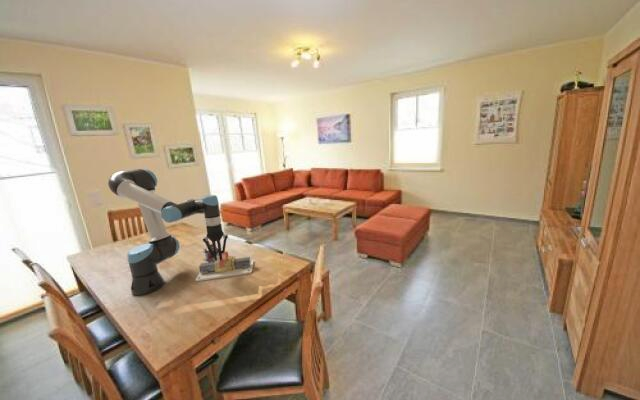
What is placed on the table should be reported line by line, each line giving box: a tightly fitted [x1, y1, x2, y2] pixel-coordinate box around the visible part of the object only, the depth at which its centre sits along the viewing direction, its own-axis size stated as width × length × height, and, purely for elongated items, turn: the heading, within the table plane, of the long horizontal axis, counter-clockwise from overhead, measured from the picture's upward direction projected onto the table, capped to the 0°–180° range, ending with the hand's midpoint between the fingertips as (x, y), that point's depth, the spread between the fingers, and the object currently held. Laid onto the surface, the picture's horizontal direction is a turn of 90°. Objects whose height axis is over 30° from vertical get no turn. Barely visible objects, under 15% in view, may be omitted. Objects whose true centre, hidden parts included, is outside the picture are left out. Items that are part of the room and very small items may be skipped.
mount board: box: [195, 259, 254, 282], centre depth 148 cm, size 30×16×1 cm, turn 100°
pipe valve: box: [198, 255, 251, 275], centre depth 147 cm, size 28×7×9 cm, turn 100°
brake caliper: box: [202, 243, 219, 263], centre depth 163 cm, size 11×11×12 cm
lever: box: [219, 250, 229, 268], centre depth 140 cm, size 17×4×2 cm, turn 16°
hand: (219, 265), depth 137 cm, fingers closed
